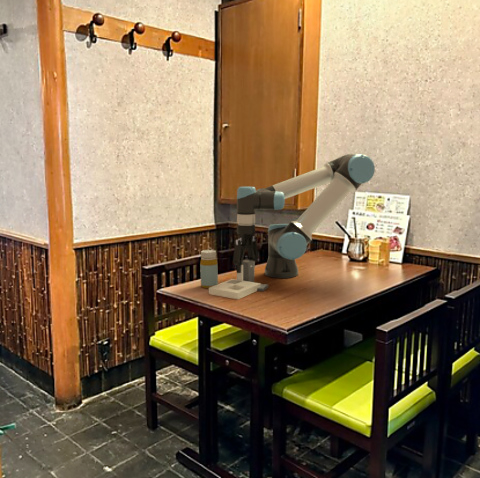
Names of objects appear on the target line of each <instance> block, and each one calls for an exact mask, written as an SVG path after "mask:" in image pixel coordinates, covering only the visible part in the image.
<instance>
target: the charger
mask: <svg viewBox="0 0 480 478" xmlns="http://www.w3.org/2000/svg"><path fill="white" fill-rule="evenodd" d="M242 265H243V281H248V282H255V273H254V261H253V260H249V259H243V262H242Z"/></svg>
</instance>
